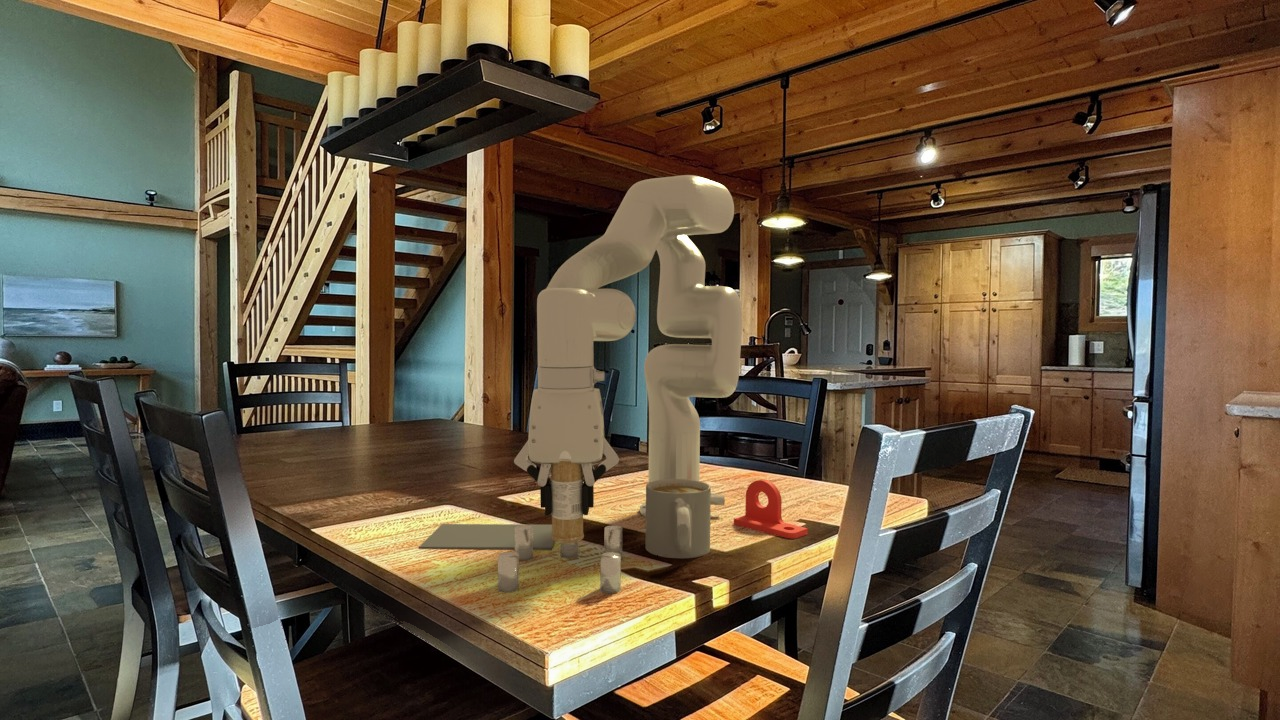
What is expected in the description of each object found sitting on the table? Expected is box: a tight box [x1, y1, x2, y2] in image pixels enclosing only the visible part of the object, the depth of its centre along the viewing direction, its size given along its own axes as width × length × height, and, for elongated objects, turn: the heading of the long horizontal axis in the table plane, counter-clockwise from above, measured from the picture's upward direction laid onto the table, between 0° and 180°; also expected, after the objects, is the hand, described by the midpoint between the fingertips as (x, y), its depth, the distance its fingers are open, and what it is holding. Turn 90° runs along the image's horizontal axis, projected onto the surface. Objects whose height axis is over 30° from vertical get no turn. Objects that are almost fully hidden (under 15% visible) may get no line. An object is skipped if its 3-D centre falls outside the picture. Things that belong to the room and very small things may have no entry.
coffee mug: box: [645, 479, 712, 559], centre depth 99 cm, size 13×10×10 cm
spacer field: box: [497, 524, 623, 594], centre depth 90 cm, size 16×16×5 cm
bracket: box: [733, 479, 809, 540], centre depth 112 cm, size 12×4×8 cm, turn 44°
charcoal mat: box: [418, 523, 556, 551], centre depth 105 cm, size 20×12×1 cm, turn 91°
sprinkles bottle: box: [550, 451, 585, 544], centre depth 89 cm, size 5×5×13 cm
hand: (567, 511), depth 90 cm, fingers closed on sprinkles bottle, 4 cm apart
